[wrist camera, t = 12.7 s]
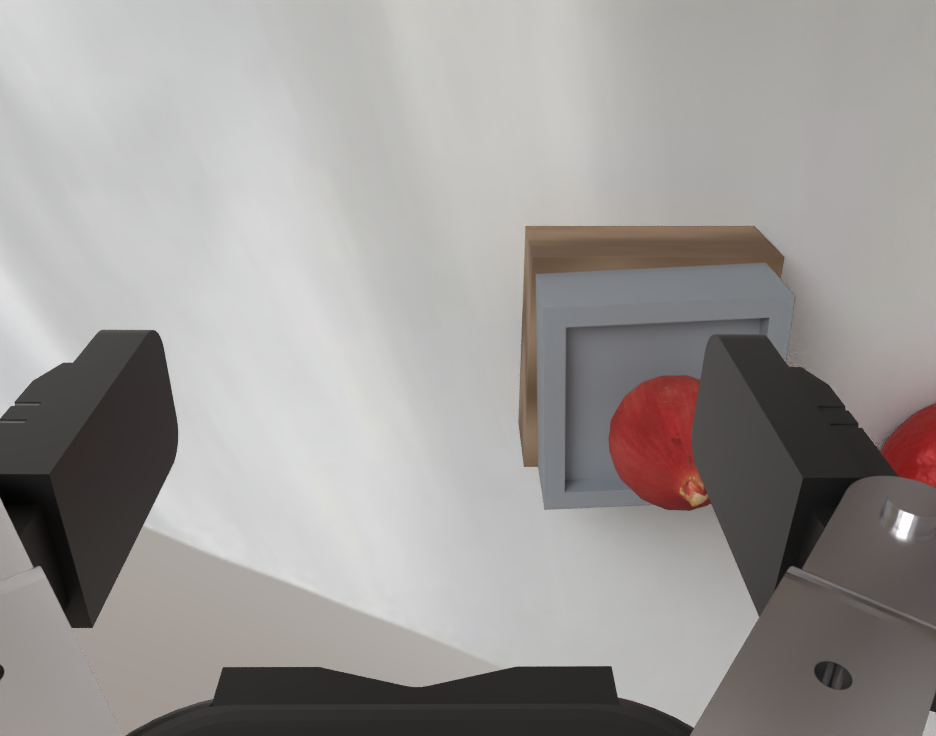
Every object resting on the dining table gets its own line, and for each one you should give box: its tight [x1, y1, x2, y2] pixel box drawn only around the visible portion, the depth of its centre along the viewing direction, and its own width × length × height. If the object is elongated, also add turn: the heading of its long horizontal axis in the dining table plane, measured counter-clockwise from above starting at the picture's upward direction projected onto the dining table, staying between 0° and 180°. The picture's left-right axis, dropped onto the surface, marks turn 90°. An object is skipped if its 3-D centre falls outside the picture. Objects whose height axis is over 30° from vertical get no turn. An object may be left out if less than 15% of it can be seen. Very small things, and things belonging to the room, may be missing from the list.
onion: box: [608, 375, 711, 511], centre depth 37 cm, size 6×6×8 cm
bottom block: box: [519, 226, 784, 467], centre depth 45 cm, size 12×12×5 cm
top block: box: [536, 263, 795, 510], centre depth 41 cm, size 11×11×4 cm
